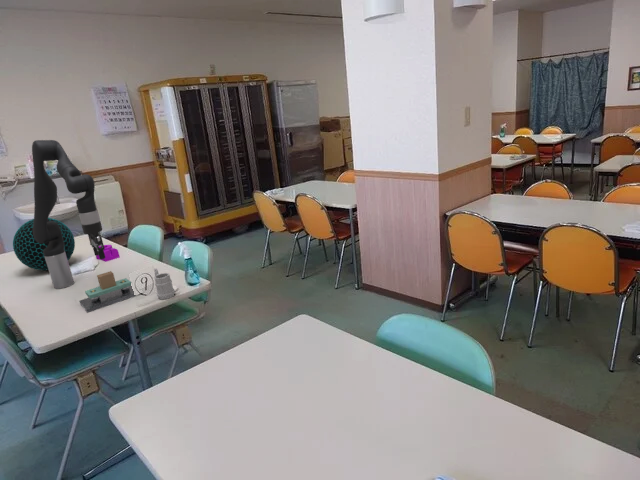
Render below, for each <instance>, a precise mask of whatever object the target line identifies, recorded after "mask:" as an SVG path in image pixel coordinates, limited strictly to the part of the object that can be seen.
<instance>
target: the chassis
mask: <svg viewBox="0 0 640 480" xmlns="http://www.w3.org/2000/svg"><path fill="white" fill-rule="evenodd" d="M123 282H124V280H123V281H122V283H123ZM92 292H95V291H94V290H92ZM134 297H136V296H135V295H134V291H133V289H132V286H128V287H125V288H122V289H119V290H116V291H113V292H109V293H106V294H103V295H100V296H97V297H94V298H91V299H90V298H89V297H87V298H86V297H85V298H84V299H81V300H78V302H79V304H80V306H81V307H82V308H83V309H84V310H85V311H86V313H90V312H95V311H96V310H99V309H102V308H104V307H108V306H111V305H114V304H116V303H120V302H122V301H125V300H128V299H131V298H134Z"/></svg>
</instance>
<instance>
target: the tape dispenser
mask: <svg viewBox="0 0 640 480" xmlns="http://www.w3.org/2000/svg"><path fill="white" fill-rule="evenodd" d="M103 245H104V248H105V249H104V254H105V258H104V259H100V258H99V255H97V256H96V255H95V258H96V260H99V261H103V262H104V263H105V262H106V263H107V262H110V261H113V260H115V259H116V260H117V259H119V258H120V253H119V249H117V248H115V247H113V245H112V244H103ZM100 247H101V246H99V248H100Z"/></svg>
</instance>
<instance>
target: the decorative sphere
mask: <svg viewBox="0 0 640 480" xmlns="http://www.w3.org/2000/svg"><path fill="white" fill-rule="evenodd" d="M49 221H54V222H56V223H57V224H58V225H59V227H60V229H61V232H62V236H63V241H64V250H65V253H66V257H67V260H68V261H69V260H70V259H71V257H72V255H73V254H74V252H75V248H76V241H75V240H76V239H75V237H74V234H73V232H72V230H71V229H70V228H69V227H68V226H67V225H66V224H65V223H63V222H61V220H58V219H56V218H52V217H48V221H47V222H49ZM33 222H34V218H32V219H30V220H28V221H26V222H24V223H23V224H22V225H20V227H18V229H17V230H16V232H15V233H14V235H13V240H12V248H13V252H14V255H15V257H16V258H17V259H18V261H20V262H21V264H23V265H24V266H26V267H28V268H30V269H34V270H38V271H49V269H48V266H47V263H46V260H45V257H44V254H43V250H44V249H45V248H46V247H47V246H48V245H49V242H46V243H38V242H37V241H36V240H35V238H34V236H33Z"/></svg>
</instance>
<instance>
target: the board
mask: <svg viewBox="0 0 640 480" xmlns="http://www.w3.org/2000/svg"><path fill="white" fill-rule="evenodd" d="M96 278H97V281H98V285H99V286H97V287H93V288H90V289H87V290H85V296H87V298H90V299H91V298H94V297H97V296H100V295H103V294H106V293H109V292H113V291H116V290H119V289H122V288H125V287H128V286H131V283H132V281H130V280H129V279H128V278H127V277H125V278H122V279H119V280H116V279H115V274H114V273H113V271H111V270H110V271H107V272H104V273H101V274H97V275H96ZM123 280H124V282H123V283H122V281H123ZM92 290H94V291H95V292H92Z"/></svg>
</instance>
